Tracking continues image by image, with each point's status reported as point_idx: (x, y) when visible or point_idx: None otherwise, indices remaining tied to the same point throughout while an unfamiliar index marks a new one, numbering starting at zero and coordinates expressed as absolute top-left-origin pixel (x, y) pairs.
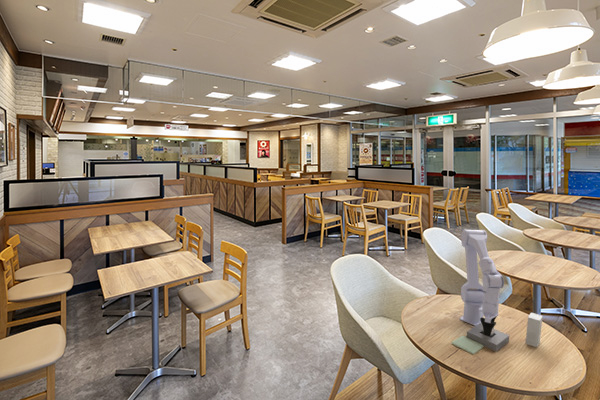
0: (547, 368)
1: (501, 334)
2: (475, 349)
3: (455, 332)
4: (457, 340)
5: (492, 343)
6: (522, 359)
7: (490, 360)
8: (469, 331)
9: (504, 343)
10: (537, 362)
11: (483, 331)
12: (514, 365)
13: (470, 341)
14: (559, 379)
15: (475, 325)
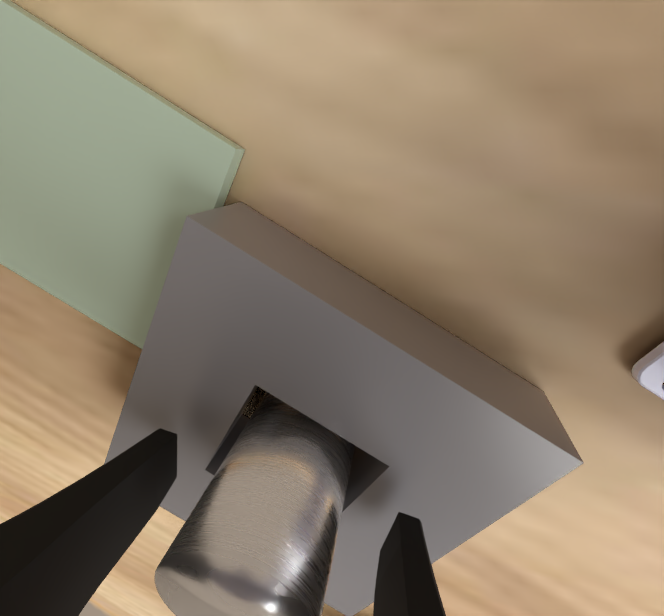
0: (155, 588)
1: (332, 570)
2: (34, 270)
3: (326, 39)
4: (63, 71)
5: (112, 444)
6: (164, 528)
7: (11, 353)
8: (213, 258)
9: None
10: None
11: (251, 442)
12: (69, 468)
13: (149, 241)
14: (99, 586)
15: (637, 370)
